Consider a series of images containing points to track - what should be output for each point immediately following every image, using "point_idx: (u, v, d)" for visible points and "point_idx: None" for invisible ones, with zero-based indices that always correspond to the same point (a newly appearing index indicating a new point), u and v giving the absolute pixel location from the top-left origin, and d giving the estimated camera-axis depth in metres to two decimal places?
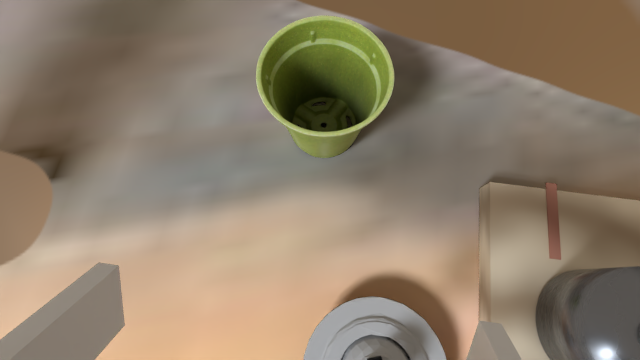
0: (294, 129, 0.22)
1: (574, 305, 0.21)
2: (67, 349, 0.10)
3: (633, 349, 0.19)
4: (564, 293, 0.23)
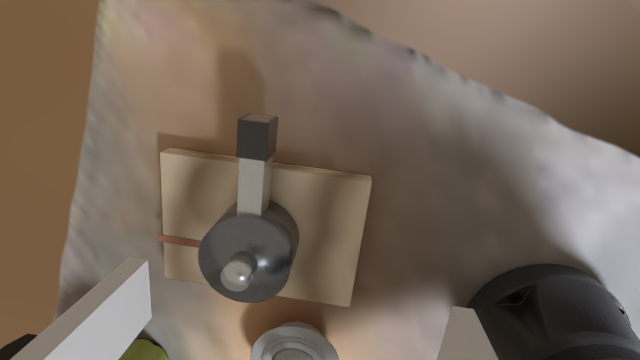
0: None
1: None
2: (104, 338, 0.11)
3: (251, 279, 0.29)
4: None
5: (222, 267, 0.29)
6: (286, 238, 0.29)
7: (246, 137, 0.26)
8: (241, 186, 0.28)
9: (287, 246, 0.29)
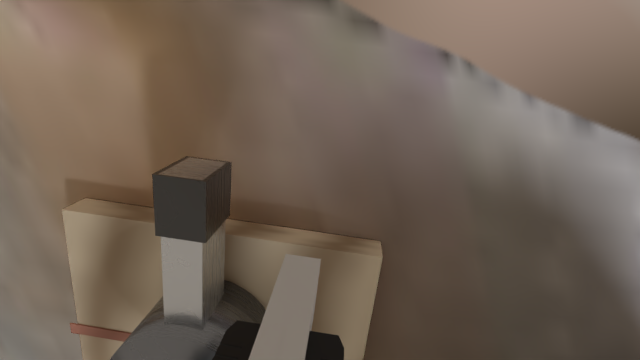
0: None
1: None
2: None
3: None
4: None
5: None
6: None
7: (168, 204, 0.15)
8: (167, 279, 0.17)
9: None
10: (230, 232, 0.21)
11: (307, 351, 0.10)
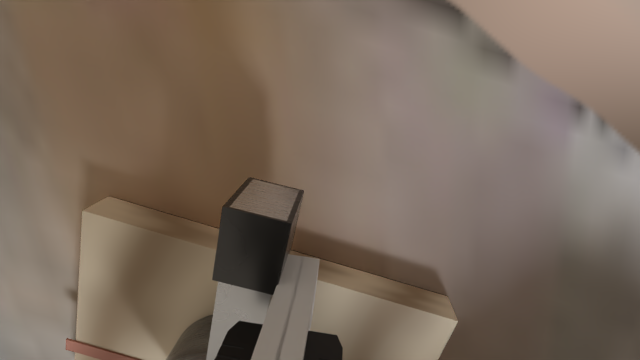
0: None
1: None
2: None
3: None
4: None
5: None
6: None
7: (237, 245, 0.12)
8: (217, 331, 0.13)
9: None
10: None
11: (305, 351, 0.10)
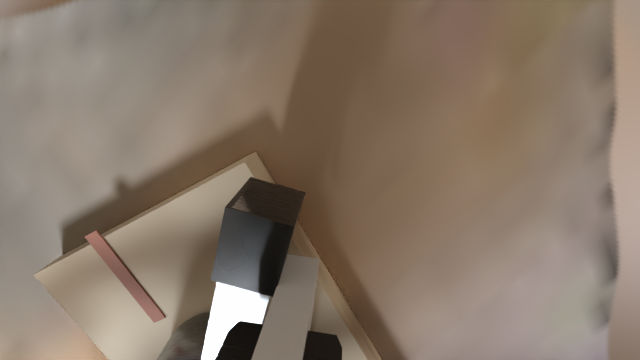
0: None
1: None
2: None
3: None
4: None
5: None
6: None
7: (238, 246, 0.12)
8: (213, 330, 0.13)
9: None
10: (350, 328, 0.19)
11: (305, 351, 0.10)
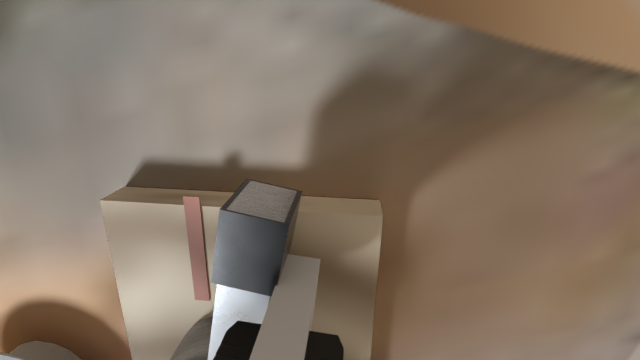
0: None
1: None
2: None
3: None
4: None
5: None
6: None
7: (235, 247, 0.12)
8: (217, 333, 0.13)
9: None
10: None
11: (306, 351, 0.10)
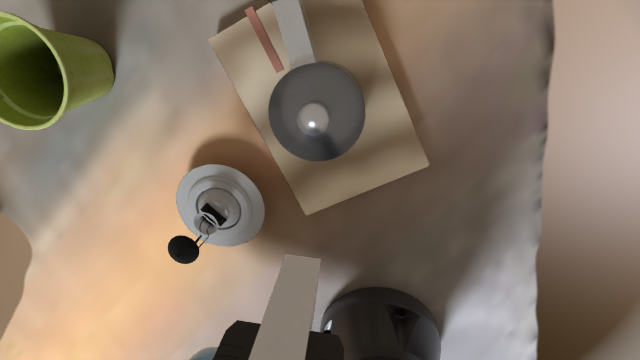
0: (37, 129, 0.30)
1: None
2: None
3: (329, 130, 0.28)
4: None
5: (297, 129, 0.29)
6: (348, 74, 0.28)
7: None
8: (284, 33, 0.27)
9: (352, 78, 0.27)
10: None
11: (307, 351, 0.10)
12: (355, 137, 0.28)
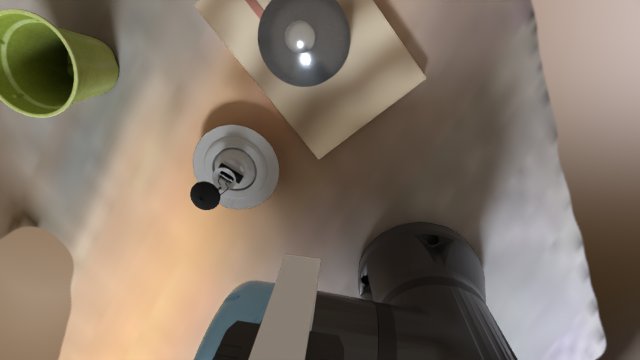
0: (56, 114, 0.32)
1: None
2: None
3: (319, 50, 0.30)
4: None
5: (289, 57, 0.30)
6: None
7: None
8: None
9: None
10: None
11: (307, 351, 0.10)
12: (344, 52, 0.29)
